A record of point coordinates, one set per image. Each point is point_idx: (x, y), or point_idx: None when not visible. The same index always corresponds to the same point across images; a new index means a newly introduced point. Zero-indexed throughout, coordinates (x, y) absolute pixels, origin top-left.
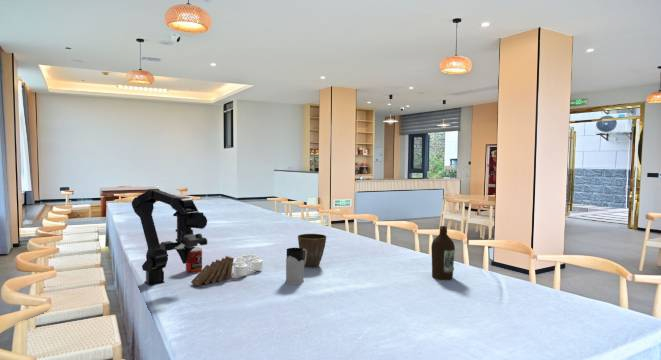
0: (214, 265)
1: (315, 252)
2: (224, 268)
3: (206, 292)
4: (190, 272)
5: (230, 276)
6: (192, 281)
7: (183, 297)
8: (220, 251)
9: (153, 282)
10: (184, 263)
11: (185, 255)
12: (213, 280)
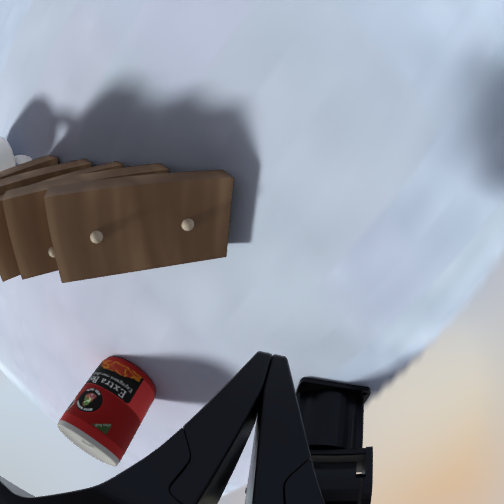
0: (29, 222)
1: None
2: (12, 180)
3: (255, 20)
4: (147, 376)
5: (33, 160)
6: (218, 248)
7: (431, 62)
8: (47, 398)
9: (350, 397)
10: (280, 357)
11: (228, 461)
12: (109, 166)
